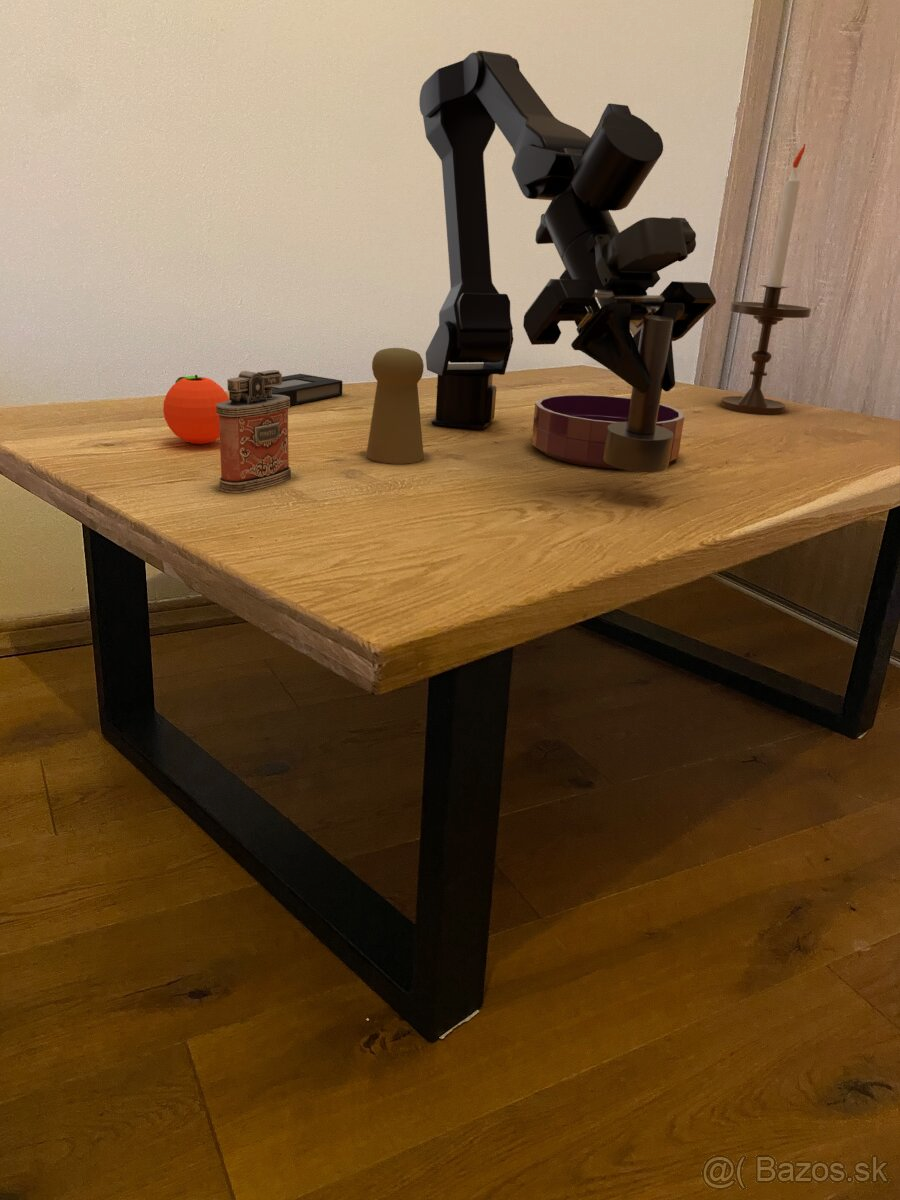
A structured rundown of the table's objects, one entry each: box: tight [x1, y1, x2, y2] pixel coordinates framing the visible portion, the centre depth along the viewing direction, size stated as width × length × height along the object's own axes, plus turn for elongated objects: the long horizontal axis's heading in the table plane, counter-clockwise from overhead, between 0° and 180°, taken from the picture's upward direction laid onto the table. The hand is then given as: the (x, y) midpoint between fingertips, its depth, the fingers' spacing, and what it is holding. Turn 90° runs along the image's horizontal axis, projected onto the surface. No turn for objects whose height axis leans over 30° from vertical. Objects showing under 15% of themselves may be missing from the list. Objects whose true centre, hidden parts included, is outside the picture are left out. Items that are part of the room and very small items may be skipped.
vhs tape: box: [228, 373, 343, 406], centre depth 123 cm, size 8×14×2 cm, turn 149°
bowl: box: [531, 393, 685, 470], centre depth 103 cm, size 16×16×5 cm
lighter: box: [216, 369, 292, 494], centre depth 83 cm, size 8×3×10 cm, turn 148°
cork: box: [366, 347, 425, 465], centre depth 95 cm, size 6×6×11 cm
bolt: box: [603, 315, 674, 473], centre depth 83 cm, size 6×6×13 cm
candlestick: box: [720, 143, 812, 415], centre depth 129 cm, size 11×11×35 cm
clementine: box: [162, 374, 229, 445], centre depth 97 cm, size 8×7×7 cm
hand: (658, 389), depth 82 cm, fingers closed on bolt, 2 cm apart
